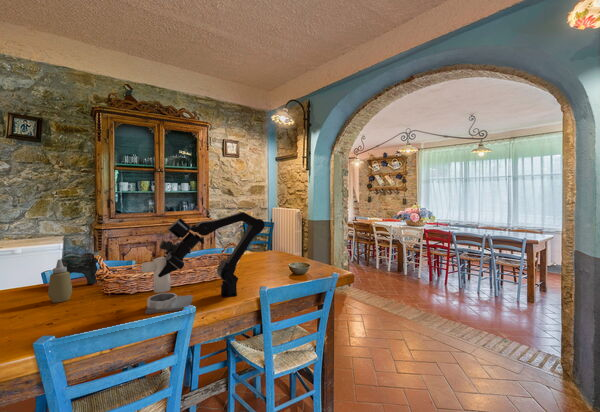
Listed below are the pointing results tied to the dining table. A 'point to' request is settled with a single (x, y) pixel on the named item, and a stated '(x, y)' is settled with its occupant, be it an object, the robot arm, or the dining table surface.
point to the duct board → (176, 307)
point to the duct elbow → (158, 274)
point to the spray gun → (82, 264)
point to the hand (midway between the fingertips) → (158, 274)
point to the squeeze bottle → (60, 284)
